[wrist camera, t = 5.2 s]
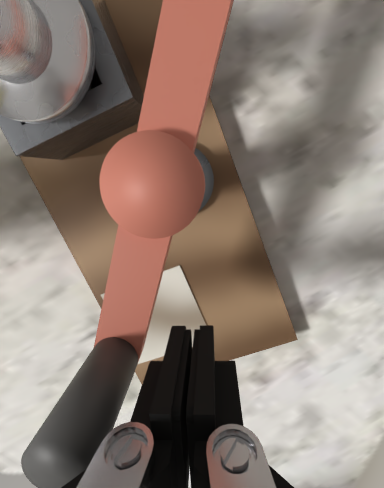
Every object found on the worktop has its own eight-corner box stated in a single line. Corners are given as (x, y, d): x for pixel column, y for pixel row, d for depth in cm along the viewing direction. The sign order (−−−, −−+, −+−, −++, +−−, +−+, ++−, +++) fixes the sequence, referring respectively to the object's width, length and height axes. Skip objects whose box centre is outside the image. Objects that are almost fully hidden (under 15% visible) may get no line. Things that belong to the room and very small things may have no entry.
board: (293, 331, 19) (297, 340, 18) (146, 376, 21) (142, 387, 20) (142, -83, 14) (137, -104, 13) (-38, 29, 16) (-56, 18, 15)
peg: (145, 113, 15) (34, 9, 6) (63, 153, 16) (-155, 122, 6) (101, 7, 14) (-136, -354, 4) (15, 57, 15) (-338, -156, 5)
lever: (156, 366, 13) (115, 511, 7) (85, 346, 13) (-10, 477, 7) (293, -122, 8) (478, -786, 2) (179, -155, 8) (109, -895, 2)
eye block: (152, 116, 15) (132, 97, 11) (61, 160, 16) (15, 155, 12) (104, -1, 14) (63, -68, 10) (8, 54, 15) (-62, 12, 11)
